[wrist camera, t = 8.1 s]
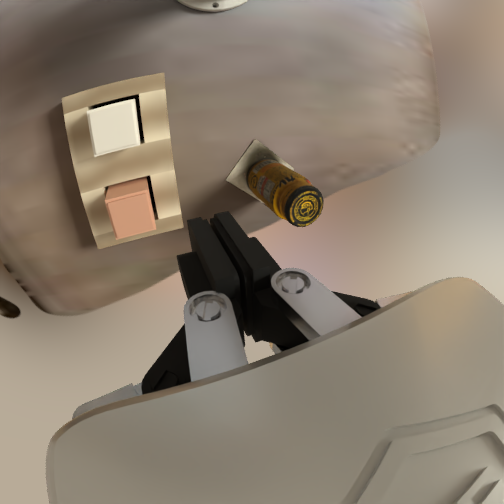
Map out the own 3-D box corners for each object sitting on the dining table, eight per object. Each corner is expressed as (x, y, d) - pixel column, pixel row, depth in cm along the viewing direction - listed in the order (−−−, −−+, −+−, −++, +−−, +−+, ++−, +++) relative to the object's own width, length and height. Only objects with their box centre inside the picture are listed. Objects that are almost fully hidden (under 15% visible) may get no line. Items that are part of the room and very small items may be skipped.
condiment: (266, 205, 44) (306, 242, 34) (225, 179, 39) (258, 213, 29) (293, 168, 42) (341, 196, 33) (254, 138, 37) (298, 158, 28)
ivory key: (95, 108, 25) (86, 111, 20) (135, 98, 26) (134, 98, 22) (101, 146, 28) (94, 157, 23) (140, 137, 29) (140, 145, 24)
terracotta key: (109, 183, 31) (104, 201, 26) (146, 174, 32) (148, 190, 27) (118, 218, 34) (116, 241, 29) (152, 209, 35) (156, 230, 30)
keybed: (69, 97, 24) (61, 98, 21) (161, 75, 27) (164, 72, 24) (100, 235, 35) (98, 249, 32) (179, 215, 39) (183, 227, 36)
